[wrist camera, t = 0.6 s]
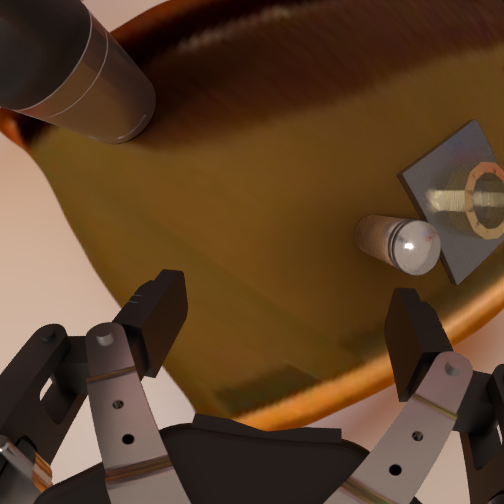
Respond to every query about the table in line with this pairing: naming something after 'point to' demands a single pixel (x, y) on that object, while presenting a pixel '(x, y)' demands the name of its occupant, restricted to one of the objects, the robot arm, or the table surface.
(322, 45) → the table surface
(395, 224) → the piston
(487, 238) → the tan pot on tray
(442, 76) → the table surface
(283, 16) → the table surface
